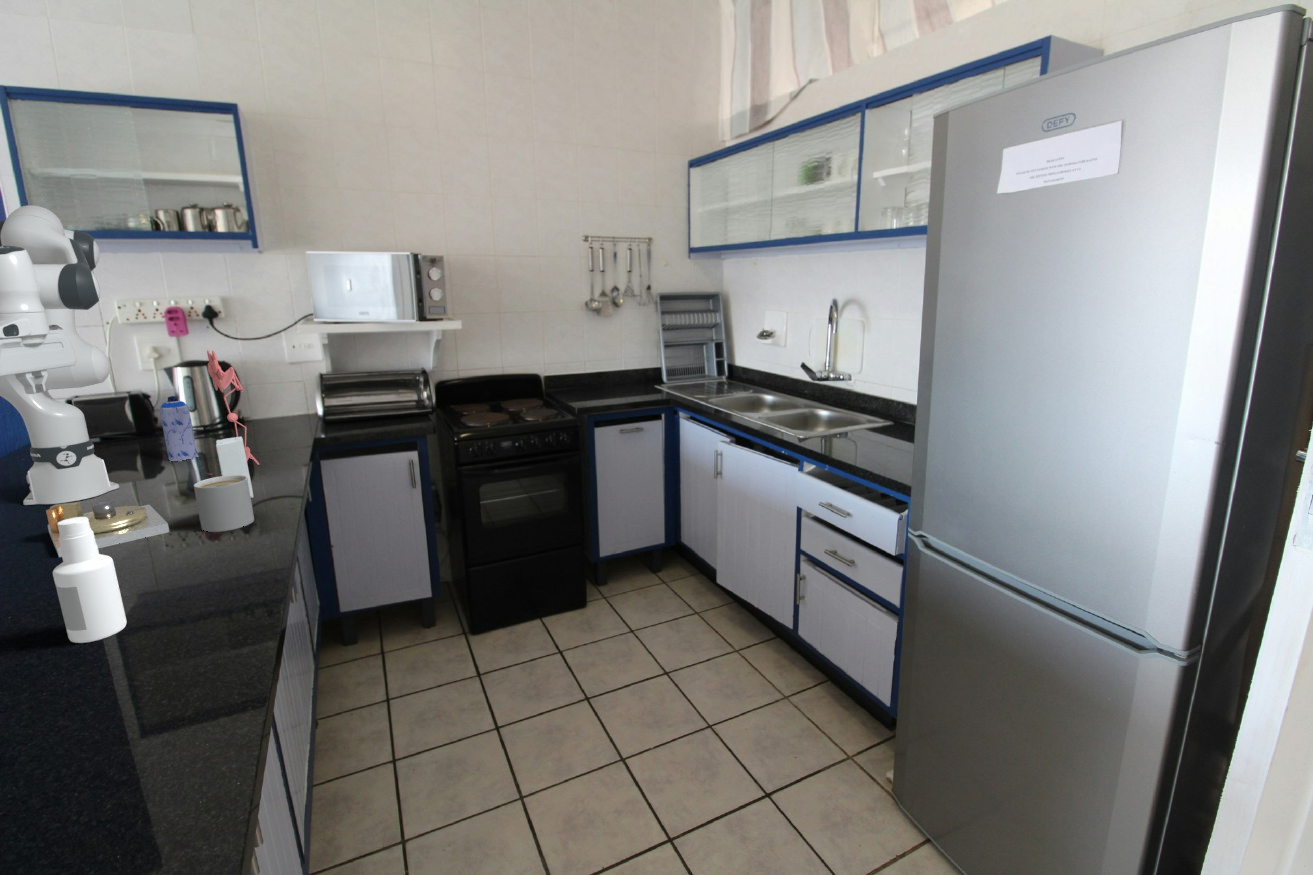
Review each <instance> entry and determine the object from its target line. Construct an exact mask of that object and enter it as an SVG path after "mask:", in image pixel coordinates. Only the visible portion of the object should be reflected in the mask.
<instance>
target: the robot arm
mask: <svg viewBox="0 0 1313 875" xmlns="http://www.w3.org/2000/svg"><path fill="white" fill-rule="evenodd" d="M100 253H101V252H100V248H99V246H98V244H97V242H96V241H95V238H94V237H93V236H92V235H91V234H89V233H87V232H83V231H79V230H70V229H66V228H64V226H63V223H62V222H61V219H60V218H59V217H58V215H56V214H55V213H54V212H52V211H51V210H49V209H48V208H46V207H42V206H40V205H33V204H32V205H28V204H27V205H23V206H20V207H18V208H16V209H14V210H13V211H12V212H11V213H10V214H9V215H8V216H7V217H6V219H5V220H4V219H1V220H0V397H1V398H3V399H5V401H7V402H9V403H10V404H11V405H12V406H13V407H14V409H16V411H17V412H18V413H19V414H20V416H21V418H22V420H23V422H24V425H25V427H26V431H27V433H28V437H29V441H30V445H31V446H30V448H29V451H30V453H29V454H30V456H31V460H32V461H33V465H32V466H31V467H30V468H29V470H28V471H27V474H26V477H25V478H26V481H27V484H28V485H29V487H28V488H29V491H30V492H29V493H28V495H27V496H26V497H25V498H24V499H23V505H24V506H30V505H31V506H32V505H55V504H64V503H73V502H78V501H81V500H87V499H90V498H95V497H98V496H101V495H103V494H106V493H109V492H111V491H114V490H118V489H119V488H120V485H119V483H116V482H113V481H110V480H109V475H108V472H107V467H106V464H105V461H104V459H102V458H101V457H98V456H97V455H96V454H94V453H95V446H94V443H93V440H92V439H90V436H89V433H88V428H87V422H86V419H85V414H84V413H83V411H82V410H81V409H79V408H78V407H77V406H74V405H72V404H69V403H66V402H64V401H63V402H62V401H59V400H57V399H55V398H54V397H53V396H52V395H51V394H50V392H49V390H64V389H75V388H76V389H78V388H85V387H90V386H94V385H98V384H101V383H104V382H105V381H106V379H108V377H109V375H110V373H111V362H110V359H109V357H108V356H107V354H106V353H105V352H104V351H103V350H101V349H100V348H99V347H97V346H95V345H93V344H90V342H87V341H85V340H84V339H83V338H82V337H81V336H80V335H79V333H78V332H77V327H76V320H75V319H76V316H75V315H76V313H75V312H76V311H77V310H80V311H85V310H86V311H88V310H90V309H91V308H93V307H94V306H95V305H96V304H97V303H98V302H99V301H100V297H101V288H100V283H99V281H98V280H97V277H96V275H95V274H94V273H93V270H94V269H96V267H97V265H98V263H99V261H100V257H101V255H100ZM75 310H76V311H75Z"/></svg>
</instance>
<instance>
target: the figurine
mask: <svg viewBox="0 0 1313 875" xmlns="http://www.w3.org/2000/svg"><path fill="white" fill-rule="evenodd" d="M206 355H207V358H208V359H207V360H208V363H207V372H208V374H209V376H210V378H211V380H212V383H213V386H214V389H215V391H218V389H219V391H220V392H221V393H224V390H226V388H228V387H229V385H230V384H233V386H234V387H235V388H233V389H232V390H230V391H229V392H228V393H226V394H225V395H224V396H223V400H224V402H225V405H226V408H227V411H228V414H227V416H226V417H227V420H228V421H229V422H231V423H234V428H235V434H236V437H239V434H238V429H237V428H238V427H237V424H238V425H239V426H241V427H243V428H244V449H245V454H246V459H247V462H248V461H249V459H250V460H251V459H252V460H253V461H254V462H255V464H257V466H259V465H260V463H259V461H258V460H257V459H256V458H255V456H254V455H252V454H251V449H250V448H249V447H250V446H247V426H245V425H243V424H242V423H240V422H239V421H238V419H239V417H238V416H239V415H238V414H237V413H235V412H231V410H230V406H229V402H228V401H227V397H228V396H229V395H231V394H232V393H233V392H234V391H237V392H238V391H240V392H242V393H243V392H244V389H243V386H242V384H241V382H240V381H239V379H238V377H237V374H236V373H235V369H234V367H233V366H230V367H229V368H228V369H227V370H225V372H224V370H222V367H221V365H219V362H218V361H219V360H218V358H217V354H216V353H215V351H214V350H212V351H211V352H210V351H209V350H207V351H206ZM202 468H203V469H204V468H205V467H202ZM201 472H202V473H204V474H207V475H212V473H211V472H210V473H209V472H204V471H202V470H201Z"/></svg>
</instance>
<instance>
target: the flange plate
mask: <svg viewBox="0 0 1313 875" xmlns="http://www.w3.org/2000/svg"><path fill="white" fill-rule="evenodd" d="M141 506H142V505H140V506H139V505H122V506H115V501H102V502H101V501H100V502H97V503H95V504H92V505H91V507H92V508H91V509H92V511H89V512H84V513H83V509H82V505H81V501H74V502H65V503H57V504H52V505H51V506H50V507H49V509H54V508H55V509H56V510H57V514H58V518H59V522H60V521H63V520H66V519H70V518H75V517H87V518H88V520H89V524H90V528H91V530H92V531H93V533H101V532H107V531H112V530H116V529H120V528H124V527H127V526H130V525H133V524H136V523H138V522H141V521H143V520H144V519H146V518H147V511H146V508H145V507H141Z"/></svg>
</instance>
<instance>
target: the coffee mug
mask: <svg viewBox="0 0 1313 875" xmlns="http://www.w3.org/2000/svg"><path fill="white" fill-rule="evenodd" d="M193 490H194V496H195V501H196V506H197V511H198V517H199V522H200V526H201V530H202V531H203V530H204V531H203V532H206V531H208V532H207V533H220V532H229V531H233V530H237V529H241V528H243V526H244V527H246V526H249V525H250V524H252V523H253V522H255V516H254V510H253V504H252V498H251V497H250V491H249V485H248V479H247V477H246V476H243V475H228V476H222V475H221V476H215V477H211V478H207V479H202V480H200V481H198V482H196V483H194V484H193Z"/></svg>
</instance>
